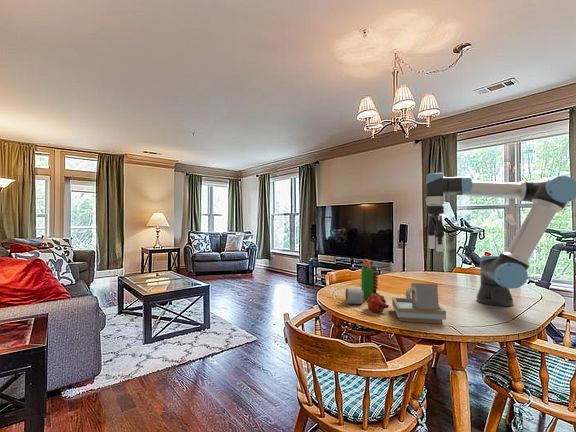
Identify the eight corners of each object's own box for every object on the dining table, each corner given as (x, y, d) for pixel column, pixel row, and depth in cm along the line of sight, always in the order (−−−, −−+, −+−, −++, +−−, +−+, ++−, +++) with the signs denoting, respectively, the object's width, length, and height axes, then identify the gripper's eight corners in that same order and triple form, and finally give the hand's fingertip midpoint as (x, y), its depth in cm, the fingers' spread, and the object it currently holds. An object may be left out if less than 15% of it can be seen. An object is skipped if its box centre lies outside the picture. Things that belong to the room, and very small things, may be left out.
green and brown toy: (379, 300, 159) (379, 261, 159) (361, 299, 161) (361, 260, 161) (377, 295, 169) (377, 258, 169) (360, 294, 171) (360, 258, 171)
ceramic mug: (364, 305, 150) (364, 289, 150) (347, 305, 150) (347, 289, 150) (359, 300, 160) (359, 285, 161) (343, 300, 160) (343, 285, 161)
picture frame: (434, 311, 140) (434, 299, 140) (446, 325, 123) (446, 310, 123) (392, 309, 144) (392, 297, 144) (397, 322, 126) (397, 308, 126)
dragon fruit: (373, 310, 148) (382, 322, 136) (359, 300, 147) (367, 311, 135) (384, 296, 148) (394, 306, 136) (370, 286, 146) (379, 296, 135)
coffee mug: (430, 308, 133) (429, 283, 135) (443, 310, 123) (442, 284, 125) (400, 307, 132) (399, 282, 134) (410, 309, 122) (409, 282, 124)
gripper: (420, 206, 162) (421, 247, 162) (433, 204, 138) (433, 252, 138) (436, 206, 161) (436, 247, 161) (451, 204, 137) (452, 253, 136)
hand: (435, 250), depth 149 cm, fingers open, 13 cm apart
